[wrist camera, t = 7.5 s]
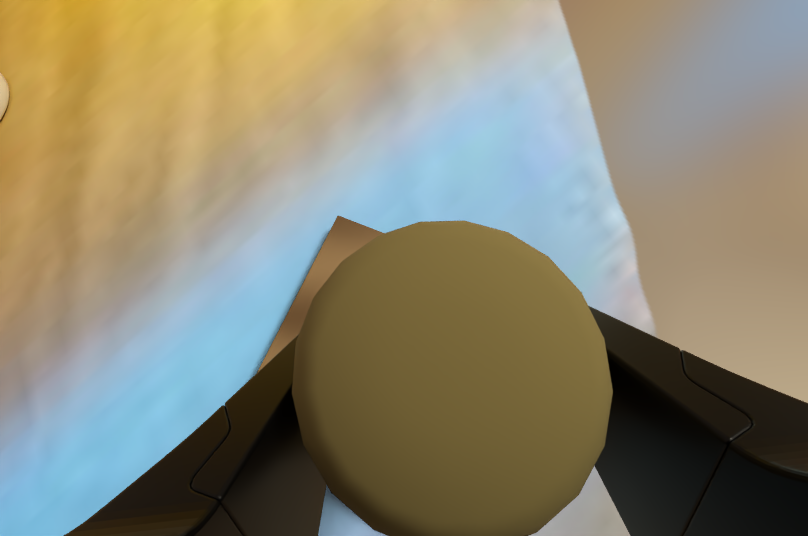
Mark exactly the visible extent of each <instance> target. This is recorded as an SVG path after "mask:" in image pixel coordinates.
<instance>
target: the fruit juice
mask: <svg viewBox="0 0 808 536" xmlns="http://www.w3.org/2000/svg"><path fill="white" fill-rule="evenodd" d="M8 101H9V87H8V83H7V81H6V79H5V78H4V76H3V75H2V74H1V73H0V120H1V118H2V117H3V115H4V113H5V111H6V108H7V105H8Z"/></svg>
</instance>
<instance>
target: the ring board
mask: <svg viewBox="0 0 808 536" xmlns="http://www.w3.org/2000/svg"><path fill="white" fill-rule="evenodd" d="M382 234H385V233H382V232H379V231H377V230H374V229H372V228H369V227H366V226H364V225H361V224H359V223H356V222H353V221H351V220H348V219H346V218H343V217H341V216H337V218H336V220H335V222H334V224H333V226H332V228H331V230H330V232H329V234H328V236H327V238H326V240H325V242H324V244H323V246H322V247H321V249H320V251H319V253H318V255H317V257H316V259H315V261H314V263H313V265H312V267H311V269H310V271H309V273H308V275H307V277H306V279H305V281H304V283H303V284H302V286H301V288H300V290H299V292H298V294H297V296H296V298H295V300H294V302H293V304H292V306H291V308H290V310H289V312H288V314H287V316H286V318H285V320H284V321H283V323H282V325H281V327H280V329H279V331H278V333H277V335H276V337H275V339H274V341H273V343H272V345H271V347H270V349H269V351H268V353H267V355H266V356H265V358H264V360H263V362H262V364H261V366H260V368H259V370H258V372H259V371H260V370H261V369H262V368H263V367H264V366H265V365H266V364H267V363H268V362H269V361H270V360H271V359H273V358H274V357H275V356H276V355H277V354H278V353H279V352H280V351H281V350H282V349H283V348H284V347H285V346H286V345H287V344H289V343H290V342H291V341H292V340H293V339H294V338H295V337H296V336H297V335H298V334H299V333H300V330H301V328H302V325H303V323H304V320H305V317H306V315H307V312H308V310H309V307H310V305H311V302H312V299H313V297H314V296H315V295H316V293H317V292H318V291H319V290H320V288H321V287H322V286H323V284H324V283H325V282H326V281H327V279H328V278H329V277H330V276H331V274H332V273H333V272H334V270H335V269H336V268H337V267H338V265H339V264H340V263H341V262H342V261H343V260H344V259H346V258H347V257H349V256H350V255H351V254H353V253H354V252H356V251H357V250H358V249H360V248H361V247H363V246H364V245H366V244H367V243H368V242H370V241H371V240H373V239H374V238H376V237H377V236H379V235H382ZM258 372H257V373H258Z"/></svg>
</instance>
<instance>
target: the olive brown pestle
mask: <svg viewBox="0 0 808 536" xmlns="http://www.w3.org/2000/svg"><path fill="white" fill-rule="evenodd" d="M612 394H613V389H612V383H611V377H610V371H609V364H608V358H607V352H606V346H605V340H604V337H603V335H602V333H601V331H600V329H599V327H598V325H597V323H596V321H595V319H594V317H593V315H592V313H591V311H590V309H589V307H588V305H587V303H586V301H585V299H584V297H583V295H582V293H581V292H580V291H579V289H578V288H577V287H576V286H575V285H574V284H573V283H572V282H571V281H570V280H569V279H568V278H567V276H566V275H565V274H564V273H563V272H562V271H561V270H560V269H559V268H558V267H557V266H556V264H555V263H554V262H553V261H552V260H551V259H550V258H549V257H548V256H546V255H545V254H543V253H541V252H540V251H538V250H536V249H535V248H533V247H531V246H530V245H528V244H526V243H525V242H523V241H522V240H520V239H518V238H517V237H515V236H513V235H512V234H510V233H508V232H505V231H501V230H497V229H493V228H490V227H486V226H482V225H478V224H475V223H471V222H467V221H436V222H418V223H415V224H412V225H409V226H406V227H403V228H400V229H397V230H394V231H391V232H388V233H385V234H382V235H379V236H377V237H376V238H374V239H373V240H371V241H370V242H368V243H367V244H366V245H364V246H363V247H361V248H360V249H358V250H357V251H356V252H354V253H353V254H351V255H350V256H349V257H347V258H346V259H344V260H343V261H342V262H341V263H340V264H339V265H338V267H337V268H336V269H335V270H334V272H333V273H332V274H331V276H330V277H329V278H328V279H327V281H326V282H325V283H324V284H323V286H322V287H321V288H320V290H319V291H318V292H317V293H316V295H315V296H314V297H313V299H312V302H311V305H310V307H309V310H308V312H307V315H306V317H305V320H304V323H303V325H302V328H301V330H300V333H299V335H298V338H297V340H296V346H295V359H294V372H293V385H292V396H293V400H294V405H295V409H296V414H297V418H298V422H299V427H300V431H301V436H302V440H303V445H304V446H305V448H306V450H307V452H308V453H309V455H310V457H311V458H312V460H313V462H314V464H315V465H316V467H317V469H318V470H319V472H320V474H321V476H322V477H323V479H324V481H325V482H326V484H327V486H328V488H329V489H330V491H331V493H332V494H334V495H335V496H336V497H337V498H338V499H339V500H340V501H342V502H343V503H344V504H345V505H346V506H347V507H348V508H350V509H351V510H352V511H353V512H354V513H355V514H356V515H358V516H359V517H360V518H361V519H362V520H363V521H364V522H365V523H367V524H368V525H369V526H370V527H371V528H372V529H373V530H375V531H378V532H380V533H383V534H385V535H388V536H528V535H531V534H534V533H536V532H538V531H539V530H540V529H541V528H542V527H543V526H544V525H546V524H547V523H548V522H549V521H550V520H551V519H552V518H553V517H555V516H556V515H557V514H558V513H559V512H560V511H561V510H562V509H564V508H565V507H566V506H567V505H568V504H569V503H570V502H571V501H572V500H574V499H575V498H576V497H577V496H578V495H579V493H580V492H581V490H582V488H583V486H584V484H585V482H586V480H587V478H588V476H589V474H590V473H591V471H592V469H593V467H594V465H595V463H596V461H597V459H598V457H599V456H600V454H601V452H602V450H603V448H604V446H605V440H606V434H607V427H608V421H609V414H610V408H611V401H612Z"/></svg>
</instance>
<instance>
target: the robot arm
mask: <svg viewBox="0 0 808 536" xmlns="http://www.w3.org/2000/svg"><path fill="white" fill-rule="evenodd" d="M588 307H589V309H590V311H591V313H592V315H593V317H594V319H595V321H596V323H597V325H598V327H599V329H600V331H601V333H602V335H603V337H604V340H605V346H606V352H607V358H608V364H609V371H610V377H611V383H612V389H613V394H612V401H611V408H610V414H609V421H608V427H607V434H606V440H605V446H604V448H603V450H602V452H601V454H600V456H599V457H598V459H597V461H596V463H595V465H594V466H595V467H596V469H597V471H598V473H599V475H600V477H601V479H602V481H603V483H604V485H605V487H606V489H607V491H608V493H609V495H610V497H611V499H612V501H613V503H614V504H615V506H616V508H617V510H618V512H619V514H620V516H621V518H622V520H623V522H624V524H625V526H626V528H627V530H628V532H629V534H630V536H808V403H806V402H803V401H801V400H798V399H796V398H793V397H791V396H788V395H786V394H783V393H781V392H778V391H776V390H773V389H771V388H768V387H766V386H764V385H761V384H759V383H756V382H754V381H751V380H749V379H747V378H744V377H742V376H740V375H737V374H735V373H732V372H730V371H728V370H726V369H723V368H721V367H719V366H717V365H714V364H712V363H710V362H708V361H706V360H703V359H701V358H699V357H697V356H695V355H693V354H691V353H688V352H686V351H683V350H682V351H680V349H679V348H678V347H675V346H673V345H671V344H669V343H667V342H665V341H663V340H660V339H658V338H656V337H654V336H652V335H650V334H648V333H645V332H643V331H641V330H639V329H637V328H635V327H633V326H630V325H628V324H626V323H624V322H622V321H620V320H618V319H615V318H613V317H611V316H609V315H607V314H605V313H603V312H600V311H598V310H596V309H594V308H592V307H590V306H588ZM298 335H299V334H298ZM298 335H297V336H296V337H295V338H294V339H293V340H292V341H291V342H290V343H289V344H287V345H286V346H285V347H284V348H283V349H282V350H281V351H280V352H279V353H278V354H277V355H276V356H275V357H274V358H273V359H271V360H270V361H269V362H268V363H267V364H266V365H265V366H264V367H263V368H262V369H261V370H260V371H259V372H258V373H257V374H255V375H254V376H253V377H252V378H251V379H250V380H249V381H248V382H247V383H246V384H245V385H244V386H243V387H242V388H241V389H239V390H238V391H237V392H236V393H235V394H234V395H233V396H232V397H231V398H230V399H229V400H228V401H227V402H226V403H225V406H221V407H220V408H219V409H218V410H217V411H216V412H215V413H214V414H213V415H212V416H211V417H210V418H208V419H207V420H206V421H205V422H204V423H203V424H202V425H201V426H200V427H198V428H197V429H196V430H195V431H194V432H193V433H192V434H191V435H190V436H188V437H187V438H186V439H185V440H184V441H183V442H181V443H180V444H179V445H178V446H177V447H176V448H174V449H173V450H172V451H171V452H170V453H168V454H167V455H166V456H165V457H164V458H163V459H161V460H160V461H159V462H158V463H156V464H155V465H154V466H153V467H152V468H150V469H149V470H148V471H147V472H145V473H144V474H143V475H142V476H141V477H139V478H138V479H137V480H136V481H135V482H133V483H132V484H131V485H130V486H128V487H127V488H126V489H125V490H124V491H122V492H121V493H120V494H119V495H117V496H116V497H115V498H114V499H113V500H111V501H110V502H109V503H108V504H107V505H105V506H104V507H103V508H102V509H100V510H99V511H98V512H97V513H95V514H94V515H93V516H92V517H90V518H89V519H88V520H86V521H85V522H84V523H83V524H81V525H80V526H78V527H77V528H75V529H74V530H72V531H71V532H69V533H67V534H66V535H64V536H318V531H319V526H320V520H321V514H322V508H323V502H324V496H325V490H326V482H325V481H324V479H323V477H322V476H321V474H320V472H319V470H318V469H317V467H316V465H315V464H314V462H313V460H312V458H311V457H310V455H309V453H308V452H307V450H306V448H305V446H304V445H303V440H302V436H301V431H300V427H299V422H298V418H297V414H296V409H295V405H294V400H293V396H292V385H293V372H294V359H295V346H296V340H297V338H298Z"/></svg>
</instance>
